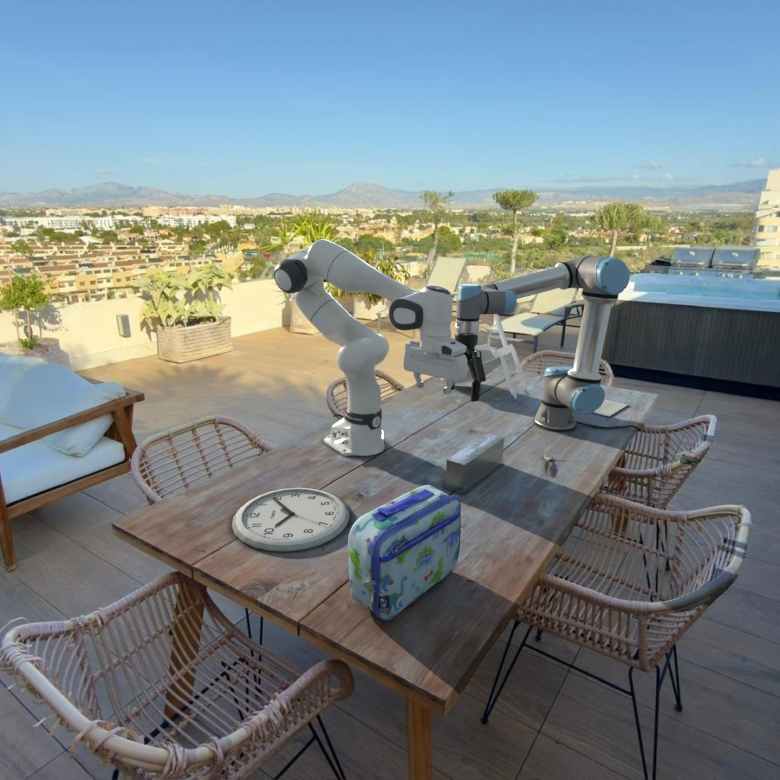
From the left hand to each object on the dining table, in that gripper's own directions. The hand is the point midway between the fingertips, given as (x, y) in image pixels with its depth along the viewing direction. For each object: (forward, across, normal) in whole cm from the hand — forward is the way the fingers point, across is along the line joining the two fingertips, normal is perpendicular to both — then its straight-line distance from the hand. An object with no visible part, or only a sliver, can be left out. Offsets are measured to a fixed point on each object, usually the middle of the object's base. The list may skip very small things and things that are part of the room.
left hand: (433, 390), depth 153 cm
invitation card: (+27, +21, +102) cm, 108 cm away
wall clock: (+27, -14, -44) cm, 54 cm away
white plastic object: (+27, -30, +86) cm, 95 cm away
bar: (+27, +11, +9) cm, 31 cm away
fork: (+27, +25, +31) cm, 48 cm away
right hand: (+8, -4, +24) cm, 26 cm away
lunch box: (+27, +26, -48) cm, 61 cm away
